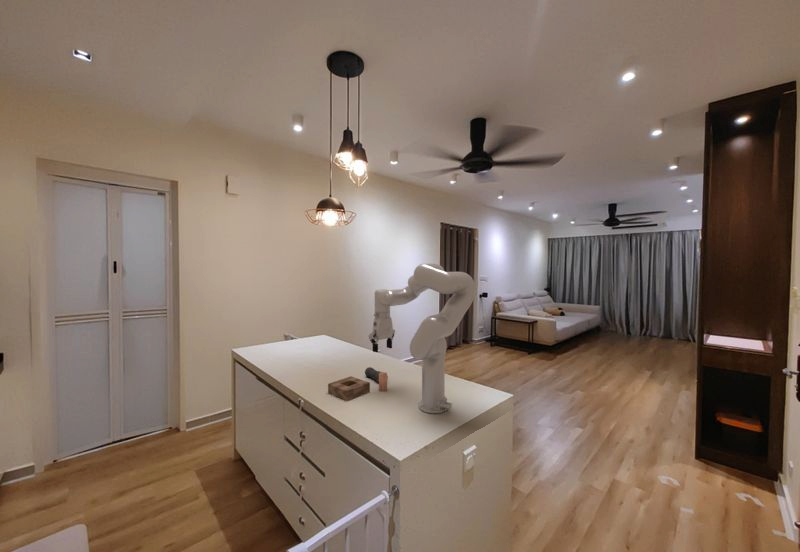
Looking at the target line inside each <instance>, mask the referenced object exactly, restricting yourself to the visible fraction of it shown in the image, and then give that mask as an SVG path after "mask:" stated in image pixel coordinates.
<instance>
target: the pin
mask: <svg viewBox="0 0 800 552" xmlns="http://www.w3.org/2000/svg"><path fill="white" fill-rule="evenodd" d="M380 372H381V373H379V382H378V392H386V391H388V380H387V376H388V373H387V372H383V371H380Z"/></svg>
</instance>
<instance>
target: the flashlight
mask: <svg viewBox="0 0 800 552" xmlns="http://www.w3.org/2000/svg"><path fill="white" fill-rule="evenodd" d="M381 372H382V371H379V370H376V369H374V368H373V367H371V366H369V367H366V369H365V370H364V375H365V376H366V377H368V378H370V379H373V380H374V381H376V382H377V383H379V373H381ZM388 380H389V376H388V375H387V381H388Z"/></svg>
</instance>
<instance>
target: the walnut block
mask: <svg viewBox="0 0 800 552" xmlns="http://www.w3.org/2000/svg"><path fill="white" fill-rule="evenodd" d="M370 385H371V384H370V382H368V381H366V380H365V379H364V380H363V379H361V378H357V377H354V376H351V375H350V376H348V377H345V378H342V379H339V380H335V381H332V382H329V383H327V389H328V390H327V394H329V395H331V396H333V397H337V398H338V399H341V400H343V401H345V402H348V401H351V400H353V399H357V398H358V397H361V396H363V395H366V394H368V393H370V391H371V388H370V387H371V386H370Z"/></svg>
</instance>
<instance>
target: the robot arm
mask: <svg viewBox="0 0 800 552" xmlns="http://www.w3.org/2000/svg"><path fill="white" fill-rule="evenodd" d="M427 290H432V291H435V292H437V293H440V294H444V295H451V294H452V296H451V297H450V298H449V299H448V300H447V301H446V303H445V304H444V307H443V308H442V309H441V310H440V311H439V313H436V314H433V315H429V316H427V317H426V318H424V319H423V320H422V322H421V323H420V324H419V326H418V328H417V329H416V332H415V333H414V334H413V337H412V339H410V340H411V341H410V343H409V353H410V355H411V356H412V357H413V358H414V360H417V361H422V364H421V400H420V401H419V403H418V408H419V410H420V411H422V412H425V413H427V414H435V413H436V414H443V413H444V411H445V412H447V411H451V410H452V409H453V408H452V407H453V403H451V402H449V401H448V397H447V396H446V393H445V392H446V391H445V390H446V389H445V385H446V384H445V379H446V378H445V376H446V375H445V374H446V373H445V370H446V369H445V368H446V366H445V364H446V363H445V362H446V354H447V347H448V345H447V340H446V338H448V337H451V335H453V333H454V332H455V330H456V329H457V327H458V326H459V325H460V323H461V321H462V320H463V318H464V316H465V314H466V313H467V311H468V310H469V308H470V307H471V306H472V303H473V301H474V299H475V297H476V283H475V281H474V279H473V278H472V276H471V275H469V274H468V273H467V272H464V271H445V269H444V267H443V266H442V265H440V264H437V263H421V264H418V266H416V267H415V268H414V271H413V275H411V276H410V277H409V278H408V280H407V286H405V287H403V288H401V289H376V290H375V291H374V314H373V316H374V318H373V322H372V332H371V333H370V334H369V335H368V339H369V341H370V343H371V344H372V352H373V353H379V344H378V342H379V340H381V341H382V340H385V339H386V348H387V349H392V348H393V340H394V337H395V333H396V330H395V329H394V327H393V319H392V317H391V307H397V306H403V305H407V304H408V303H410V302H412V301H414V300H416V299H418V298H419V296H420V295H421V294H422V293H424V292H425V291H427ZM447 409H448V410H447ZM446 410H447V411H446Z"/></svg>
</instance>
